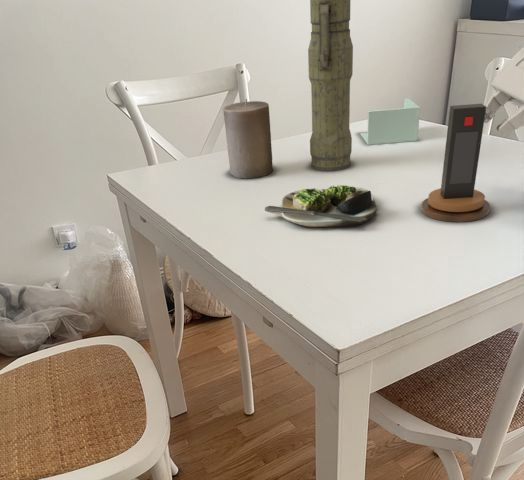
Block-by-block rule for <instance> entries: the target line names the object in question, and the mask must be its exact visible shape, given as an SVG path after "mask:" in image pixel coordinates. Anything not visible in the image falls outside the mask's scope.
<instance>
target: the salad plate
mask: <svg viewBox="0 0 524 480" xmlns="http://www.w3.org/2000/svg"><path fill="white" fill-rule="evenodd" d="M264 211H265V212H267V213H270V214H273V215H274V214H275V215H277V216H278V217H281V218H283V219H284V220H285V221H288V222H291V223H292V224H293V223H294V224H296V225H300V226H304V227H307V228H331V227H332V228H335V227H336V228H337V227H339V228H343V227H355V226H360V225H364V224H366V223H368V222H370V221H371V220H372V219H373V218H374V217H375V215H376V213H377V211H378V206H377V203H376V201H375V198H374V196H373V194H372V191H371V190H368V189H366V188H364V187H358V186H353V185H352V186H350V185H340V184H337V185H336V186H335V185H331V186H329V187H328V188H320V189H319V188H315V187H313V188H302V189H299V190H295V191H292V192H290V193H288V194H285V195H284V196H283V197H282V198H281V203H280V206H275V205H268V206H265V207H264Z"/></svg>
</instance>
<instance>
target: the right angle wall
mask: <svg viewBox="0 0 524 480" xmlns="http://www.w3.org/2000/svg"><path fill="white" fill-rule="evenodd" d="M403 101H404V103H403V107H398V108H397V107H396V108H388V109H386V108H385V109H375V110H374V109H373V110H368V111H367V130H366V131H367V132H360V133H359V134H360V136H361V138H363V140H364V141H365V143H366V144H367V145H368V146H371V145H381V144H382V145H383V144H394V143H395V144H396V143H407V142H417V141H418V139H419V126H420V113H421V107H420V106H419V105H417V104H416V103H415V102H414V101H412V99H410V98H407V97H405V98H404V99H403Z"/></svg>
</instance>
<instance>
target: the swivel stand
mask: <svg viewBox="0 0 524 480" xmlns="http://www.w3.org/2000/svg"><path fill="white" fill-rule="evenodd" d="M490 208H491V205H490V203H489V201H487V200H486V199H485V200H484V205H483V206H482V207H481V208H479V209H477V210H473V211H467V212H448V211H442V210H438V209H435V208H433V207H431V206H430V205H429V204H428V197H427V198H425V199H424V200H423V201H422V202H421V208H420V210H421V213H422V214H423V215H424V216H426V217H428V218H430V219H432V220H437V221H442V222H447V223H448V222H449V223H450V222H451V223H465V222H466V223H467V222H473V221H478V220H482V219H483V218H485V217H487V216H488V215H489V213H490Z"/></svg>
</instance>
